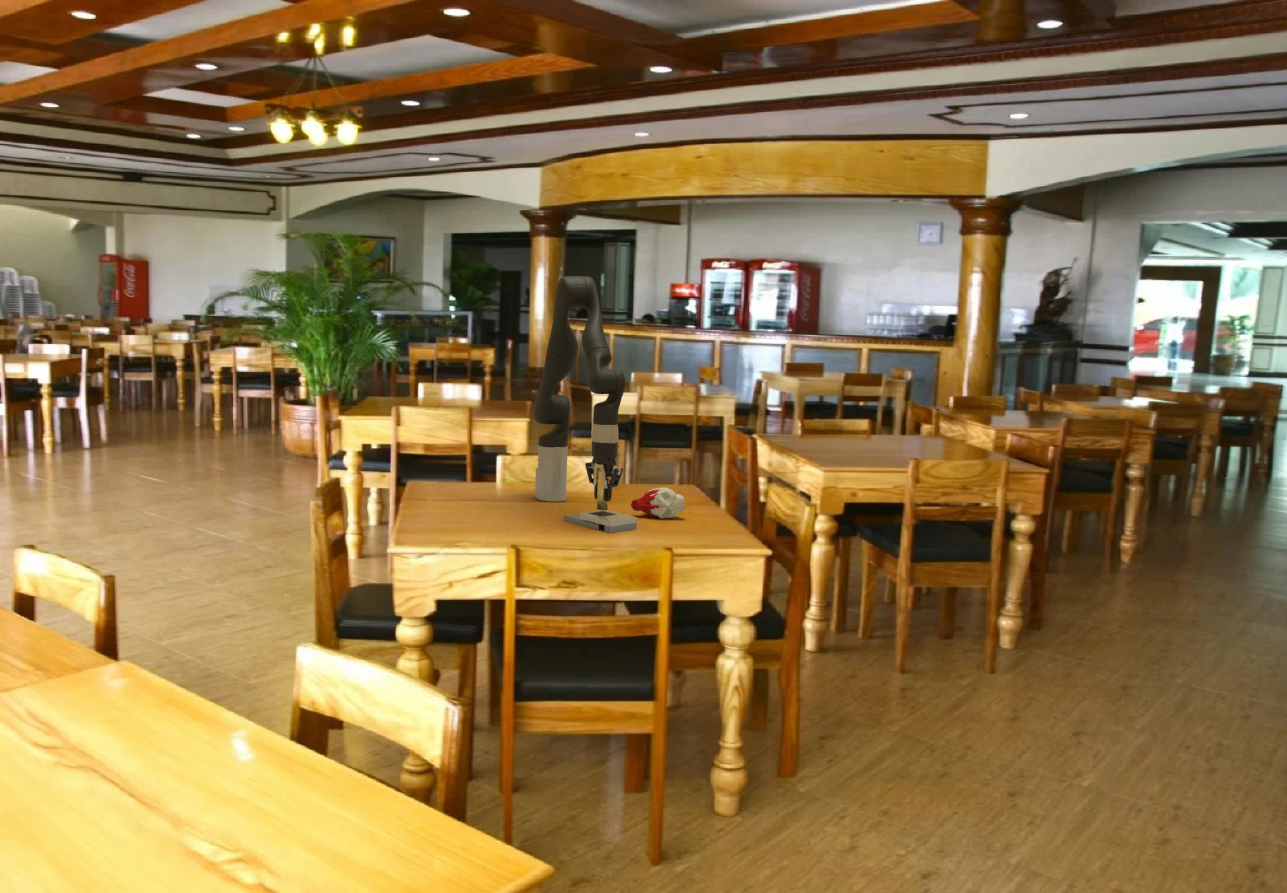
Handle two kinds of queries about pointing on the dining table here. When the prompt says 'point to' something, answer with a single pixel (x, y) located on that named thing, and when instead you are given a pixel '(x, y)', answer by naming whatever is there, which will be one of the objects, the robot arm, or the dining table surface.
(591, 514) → the grey slotted base plate
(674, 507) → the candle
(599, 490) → the pin
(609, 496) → the robot arm
